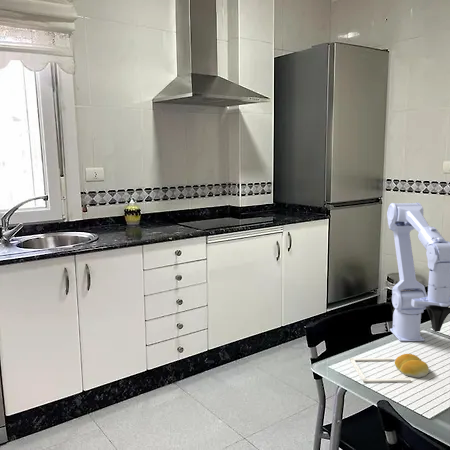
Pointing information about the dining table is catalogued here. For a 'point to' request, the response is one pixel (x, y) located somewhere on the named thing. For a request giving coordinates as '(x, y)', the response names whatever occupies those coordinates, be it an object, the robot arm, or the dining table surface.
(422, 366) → the bread roll
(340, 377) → the dining table surface
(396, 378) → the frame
